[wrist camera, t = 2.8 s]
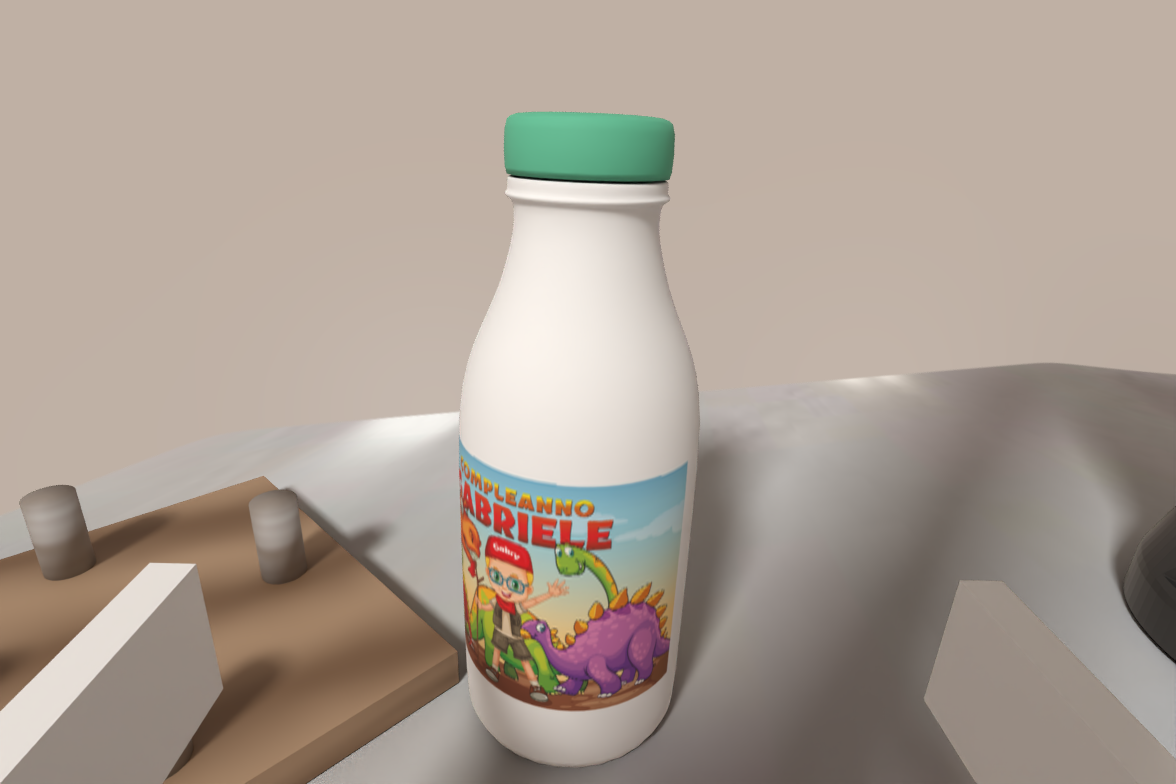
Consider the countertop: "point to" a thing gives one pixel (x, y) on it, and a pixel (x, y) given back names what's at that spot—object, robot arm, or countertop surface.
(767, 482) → the countertop surface
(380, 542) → the countertop surface
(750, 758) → the countertop surface
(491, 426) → the milk bottle
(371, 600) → the peg board
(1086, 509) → the countertop surface
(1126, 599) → the robot arm
